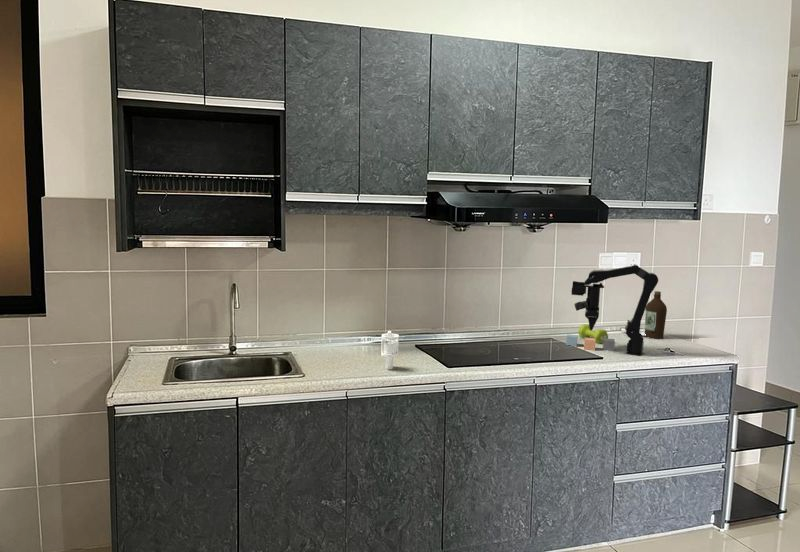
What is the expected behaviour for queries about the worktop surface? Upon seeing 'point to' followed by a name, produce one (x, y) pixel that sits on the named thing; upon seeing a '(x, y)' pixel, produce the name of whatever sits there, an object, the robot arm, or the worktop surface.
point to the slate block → (571, 340)
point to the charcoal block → (608, 344)
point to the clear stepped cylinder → (389, 348)
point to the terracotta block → (589, 344)
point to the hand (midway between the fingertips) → (591, 328)
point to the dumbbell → (592, 333)
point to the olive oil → (655, 317)
